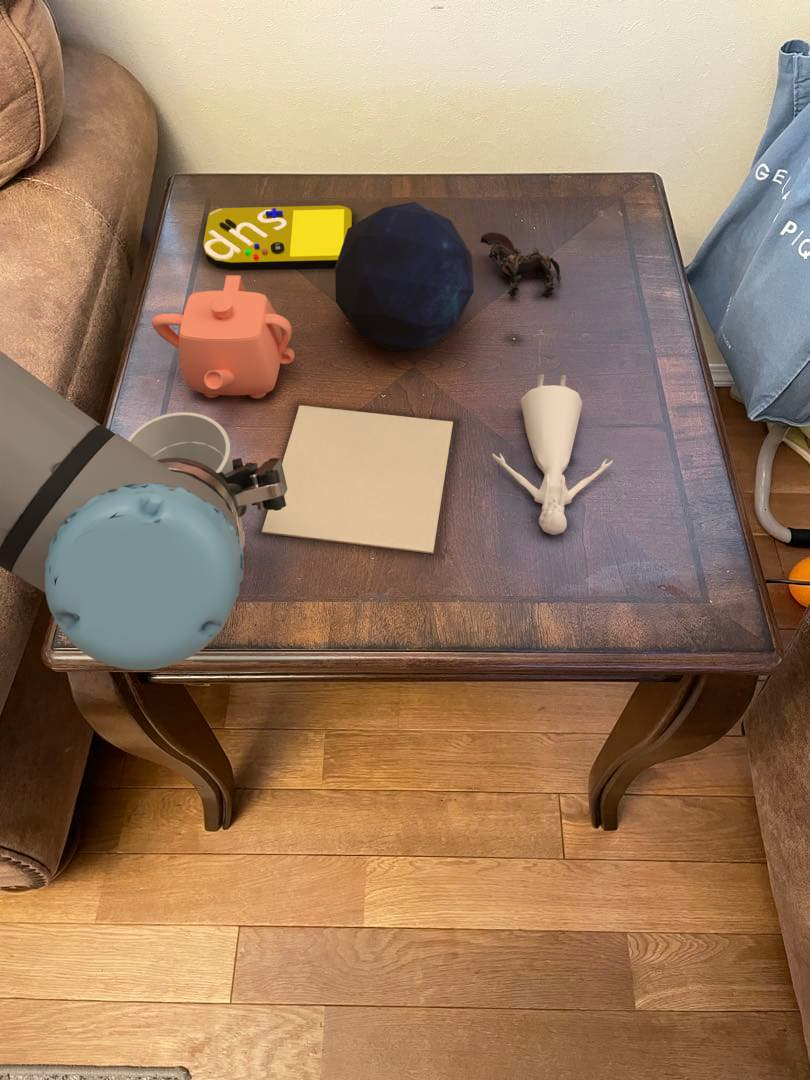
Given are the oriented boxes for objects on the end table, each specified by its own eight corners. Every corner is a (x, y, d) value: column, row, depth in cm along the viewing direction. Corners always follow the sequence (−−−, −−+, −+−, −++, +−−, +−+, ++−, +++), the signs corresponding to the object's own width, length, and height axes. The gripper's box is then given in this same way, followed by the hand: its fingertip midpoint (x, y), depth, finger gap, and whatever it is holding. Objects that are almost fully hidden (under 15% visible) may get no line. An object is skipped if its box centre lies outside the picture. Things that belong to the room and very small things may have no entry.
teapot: (224, 436, 81) (204, 366, 73) (163, 371, 86) (138, 299, 78) (316, 382, 85) (306, 310, 77) (253, 323, 90) (237, 250, 82)
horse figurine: (570, 349, 91) (545, 246, 97) (582, 327, 88) (555, 222, 93) (495, 351, 90) (474, 246, 95) (505, 328, 86) (482, 221, 92)
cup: (268, 515, 71) (246, 424, 61) (233, 590, 66) (203, 505, 56) (185, 495, 72) (149, 402, 62) (145, 568, 68) (101, 481, 58)
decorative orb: (473, 233, 90) (394, 143, 79) (518, 320, 82) (436, 234, 71) (378, 312, 96) (292, 238, 85) (411, 400, 88) (320, 331, 77)
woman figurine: (613, 369, 79) (624, 524, 70) (603, 398, 83) (613, 549, 74) (495, 363, 80) (492, 516, 71) (492, 392, 84) (488, 541, 75)
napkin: (262, 533, 74) (261, 531, 74) (299, 407, 83) (299, 405, 83) (433, 553, 73) (433, 552, 73) (452, 423, 82) (453, 421, 81)
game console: (351, 211, 102) (351, 200, 100) (353, 267, 96) (352, 256, 94) (209, 216, 101) (207, 206, 100) (202, 273, 95) (199, 262, 94)
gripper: (8, 633, 45) (83, 555, 67) (358, 547, 48) (319, 500, 70) (-34, 504, 43) (56, 468, 65) (331, 425, 47) (300, 415, 69)
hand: (193, 484), depth 68 cm, fingers closed on cup, 7 cm apart
